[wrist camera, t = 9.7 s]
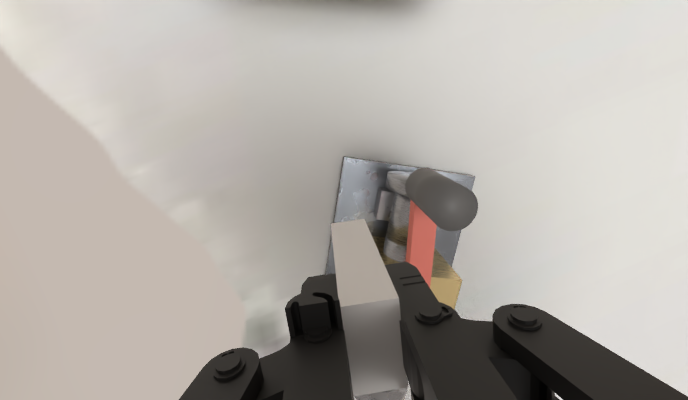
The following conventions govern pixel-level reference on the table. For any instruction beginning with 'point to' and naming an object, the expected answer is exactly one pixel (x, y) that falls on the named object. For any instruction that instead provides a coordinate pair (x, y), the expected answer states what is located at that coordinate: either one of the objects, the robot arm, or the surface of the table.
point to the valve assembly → (394, 227)
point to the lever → (434, 214)
